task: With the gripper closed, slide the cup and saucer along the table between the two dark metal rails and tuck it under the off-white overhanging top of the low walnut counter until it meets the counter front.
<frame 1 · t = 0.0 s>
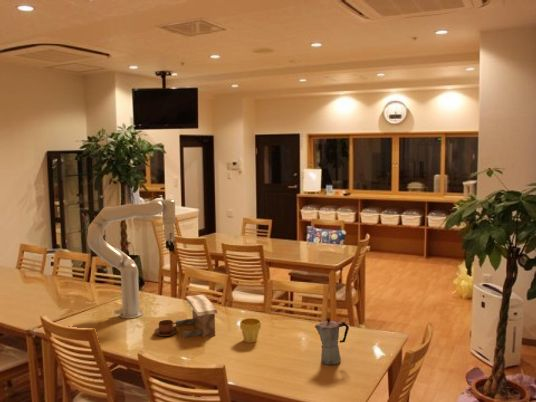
hand: (170, 249, 297), 37 cm above the table, tool pointing down, fingers open, 9 cm apart
plant pot: (250, 340, 254), on the table
cup and saucer: (166, 334, 264), on the table
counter: (201, 327, 271), on the table
moka pot: (331, 361, 229), on the table
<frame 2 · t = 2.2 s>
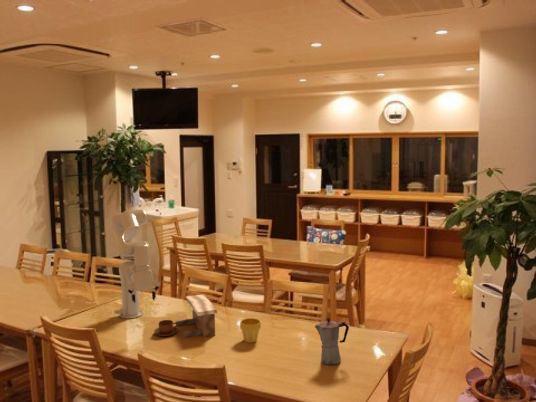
hand: (144, 300, 259), 19 cm above the table, tool pointing down, fingers open, 9 cm apart
nothing on the table moved.
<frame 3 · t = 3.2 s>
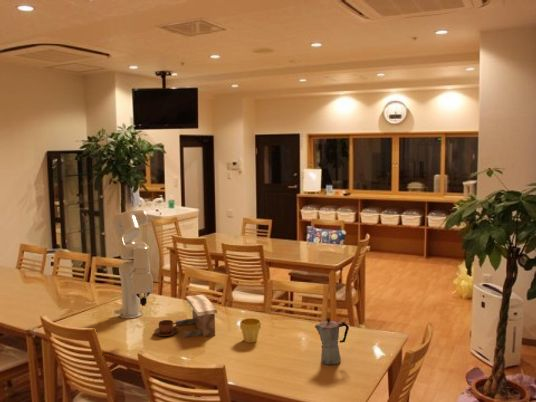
hand: (143, 305, 258), 17 cm above the table, tool pointing down, fingers closed
nothing on the table moved.
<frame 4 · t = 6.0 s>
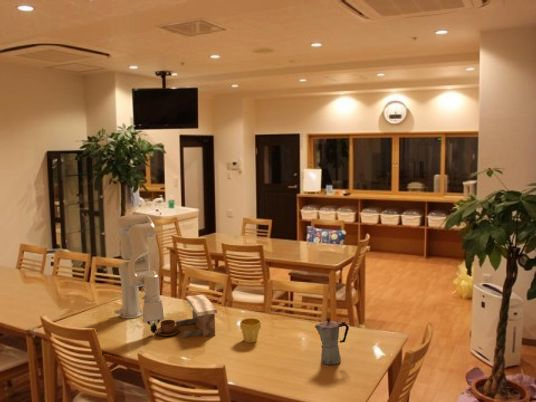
hand: (153, 332, 262), 2 cm above the table, tool pointing down, fingers closed
cup and saucer: (168, 333, 264), on the table, touching gripper
everything else where it was.
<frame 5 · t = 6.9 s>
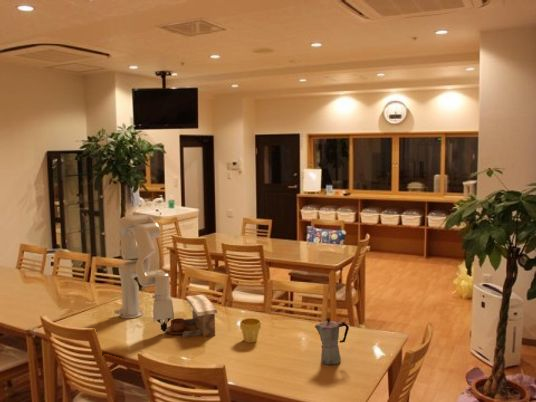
hand: (164, 330, 264), 2 cm above the table, tool pointing down, fingers closed
cup and saucer: (178, 332, 266), on the table, touching gripper
everything else where it was.
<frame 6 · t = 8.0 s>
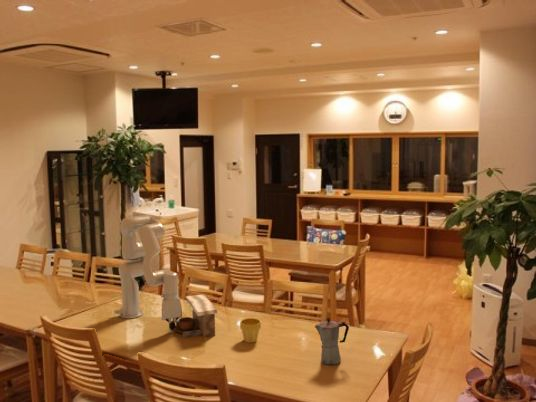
hand: (172, 329, 265), 2 cm above the table, tool pointing down, fingers closed
cup and saucer: (186, 331, 268), on the table, touching gripper
everything else where it was.
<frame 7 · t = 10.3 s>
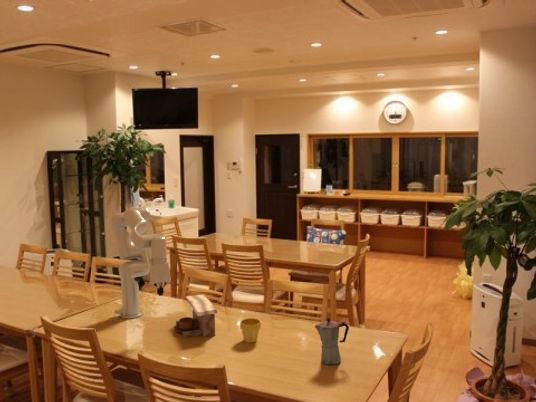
hand: (160, 294, 261), 21 cm above the table, tool pointing down, fingers closed
cup and saucer: (186, 331, 268), on the table
everything else where it was.
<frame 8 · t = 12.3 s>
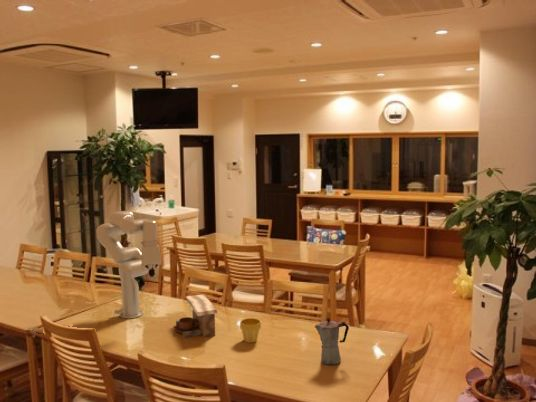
hand: (151, 276, 274), 27 cm above the table, tool pointing down, fingers closed
nothing on the table moved.
at the end: cup and saucer inside the target area (0.5 cm from its centre), on the table; cup and saucer tilted 0° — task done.
